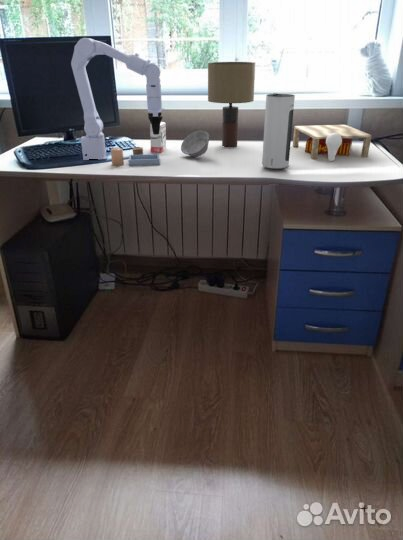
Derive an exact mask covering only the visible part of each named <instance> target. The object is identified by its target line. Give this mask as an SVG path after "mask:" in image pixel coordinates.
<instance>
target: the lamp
mask: <svg viewBox="0 0 403 540" xmlns="http://www.w3.org/2000/svg"><path fill="white" fill-rule="evenodd" d="M255 74H256V62H254V61H213V62H210V61H209V62H207V101H208V102H209V103H213V104H228V106H227V105H226V106H223V107H222V123H221V124H222V125H221V126H222V129H221V130H222V131H221V132H222V133H221V145H222V146H221V147H223V146H224V147H223V148H227V147H233V148H236V147H238V131H239V128H238V127H239V106H234V105H233V104H247V103H252V102H254V100H255V98H254V97H255V77H256V75H255Z"/></svg>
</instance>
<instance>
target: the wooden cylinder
mask: <svg viewBox="0 0 403 540" xmlns="http://www.w3.org/2000/svg"><path fill="white" fill-rule="evenodd" d="M123 151H124V150H123V148H121V147H113V148H110V157H111V165H112V166H114V167H121V166H124V165H125V161H124V152H123Z"/></svg>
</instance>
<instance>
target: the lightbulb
mask: <svg viewBox="0 0 403 540" xmlns="http://www.w3.org/2000/svg"><path fill="white" fill-rule="evenodd" d="M341 143H342V138H341V136H340V135H339V134H337V133H332V134H330V135H329V136H328V137H327V138H326V145H327V148H328V155H327V157H328V161H329V162H333V161H335V158H336V155H337V154H336V153H337V150H338V148H339V147H340V145H341Z"/></svg>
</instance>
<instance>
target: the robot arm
mask: <svg viewBox="0 0 403 540" xmlns="http://www.w3.org/2000/svg"><path fill="white" fill-rule="evenodd" d="M99 55H102V56H103V55H106V56H107V57H109V58H112V59H114V60H117V61H119V62H121V63H123V64H125V66H126V68H127V70H130V71H133V72H134V73H135V74H138V75H141V76H145V79H146V84H145V85H146V86H145V87H146V105H147V106H146V107H147V109H146V111H147V112H148V113H147V117H148V120H149V122H150V124H151V125H152V130H153V134H154V135H156V134H159V130H160V123H161V122H162V120H163V116H162V112H163V111H166V109H165V107H164V108H162V107H163V105H162V104H163V103H162V85H161V77H160V76H161V69H160V66H159V65H158V64H156V63H155V62H151V61H152V60H150V59H145V58H143V57H141V56H139V55H140V54H139V53H137V52H136V53H134V52H133V53H130V54H126V53H125V52H123V51H121V50H119V49H117V48H115V47H113V46H111V45H109V44H107V43H106V42H103V41H100V40H95V39H94V38H89V37H82V38H80V39H79V40H78V41H77V43H76V44H75V45H74V49H73V54H72V58H71V62H70V65H71V69H72V73H73V77H74V81H75V85H76V87H77V92H78V96H79V99H80V102H81V103H80V104H81V107H82V111H83V120H84V127H83V129H84V132H85V136H81V137H80V145H81V151H82V152H81V153H82V158H83V159H82V160H83V161H90V160H89V159H98V160H107V159H108V156H107V157H106V154H107V151H106V142H105V141H106V140H105V134H104V133H103V130H104V122H103V120H102V119H101V118H100V115H99V113H98V111H97V108H96V107H97V106H96V104H95V100H94V95H93V92H92V87H91V83H90V80H89V77H88V73H87V72H88V71H87V69H86V67H87V65H88V64H89V62H90V60H92V59H93V58H94V57H96V56H99ZM86 154H87V156H85V155H86Z"/></svg>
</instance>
